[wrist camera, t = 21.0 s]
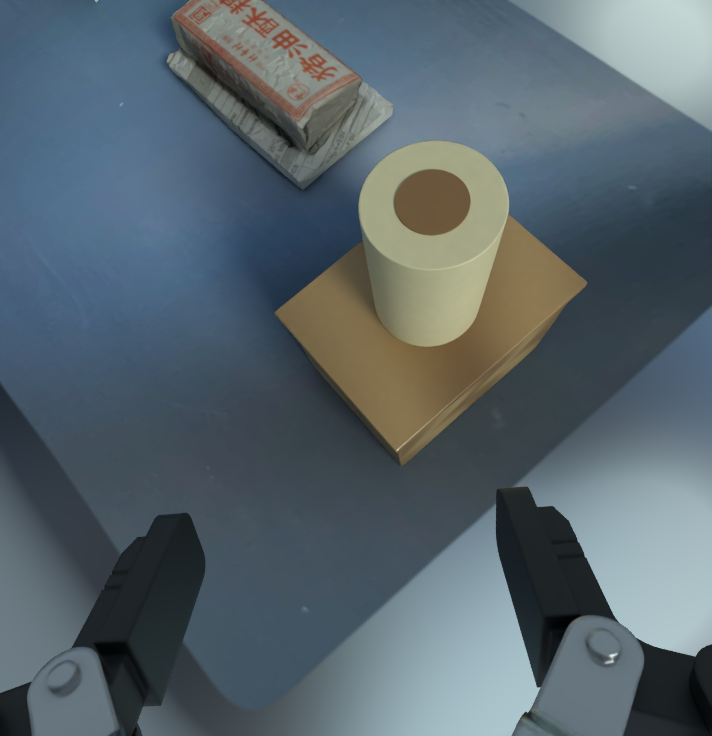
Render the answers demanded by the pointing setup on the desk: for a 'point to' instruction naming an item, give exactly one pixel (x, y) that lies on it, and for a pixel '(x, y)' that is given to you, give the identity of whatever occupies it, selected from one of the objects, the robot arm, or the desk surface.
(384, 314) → the toilet paper roll
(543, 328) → the oak box
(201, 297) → the desk surface
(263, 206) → the desk surface
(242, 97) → the packaged product
